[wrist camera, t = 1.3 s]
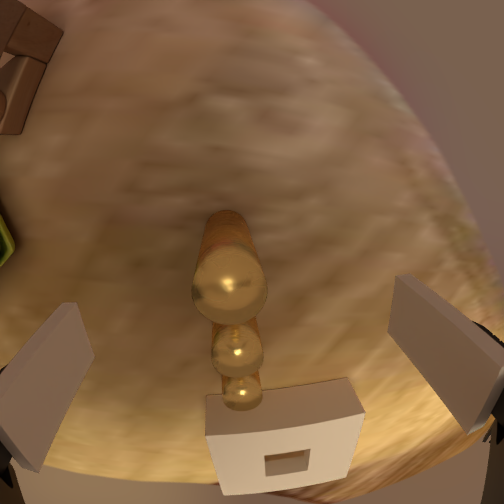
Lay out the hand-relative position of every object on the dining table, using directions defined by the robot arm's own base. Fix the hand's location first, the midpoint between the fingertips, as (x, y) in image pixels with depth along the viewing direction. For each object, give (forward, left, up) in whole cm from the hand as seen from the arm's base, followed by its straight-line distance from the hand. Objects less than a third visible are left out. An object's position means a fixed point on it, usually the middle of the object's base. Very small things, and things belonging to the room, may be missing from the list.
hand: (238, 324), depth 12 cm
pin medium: (0, -7, -15) cm, 17 cm away
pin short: (0, -14, -15) cm, 21 cm away
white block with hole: (+4, -25, -15) cm, 30 cm away
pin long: (0, 0, -15) cm, 15 cm away
